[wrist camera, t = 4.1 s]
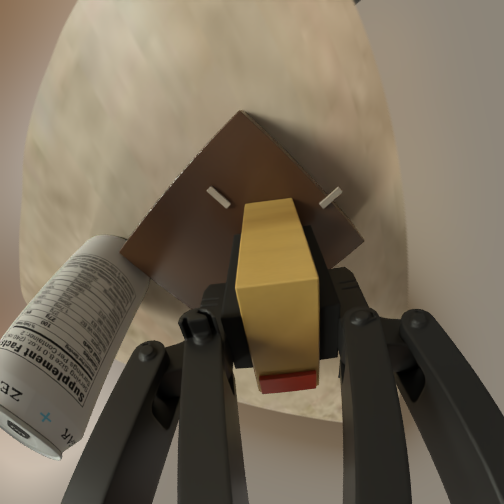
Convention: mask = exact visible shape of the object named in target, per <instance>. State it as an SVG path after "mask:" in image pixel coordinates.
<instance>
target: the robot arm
mask: <svg viewBox="0 0 504 504" xmlns="http://www.w3.org/2000/svg"><path fill="white" fill-rule="evenodd" d="M302 228H303V230H304V233H305V236H306V239H307V242H308V245H309V248H310V251H311V255H312V258H313V261H314V264H315V267H316V270H317V273H318V276H319V297H320V360H322V359H329V358H335V357H338V351H339V354H340V367H339V376H338V378H340V380H341V396H342V417H343V456H344V457H343V459H344V460H343V463H344V464H343V468H344V472H343V474H344V475H343V476H344V477H343V504H412V496H411V483H410V472H409V463H408V454H407V447H406V439H405V433H404V426H403V420H402V414H401V408H400V403H399V397H398V392H397V387H398V389H399V391H400V393H401V395H402V396H403V398H404V400H405V402H406V404H407V406H408V408H409V410H410V413H411V415H412V417H413V419H414V421H415V423H416V425H417V427H418V429H419V431H420V433H421V435H422V438H423V440H424V442H425V444H426V446H427V448H428V451H429V452H430V455H431V457H432V460H433V462H434V464H435V466H436V469H437V471H438V473H439V476H440V478H441V481H442V483H443V485H444V488H445V490H446V493H447V495H448V498H449V500H450V503H451V504H504V416H503V415H502V413H501V411H500V410H499V408H498V406H497V405H496V403H495V402H494V400H493V398H492V397H491V395H490V394H489V392H488V391H487V389H486V388H485V386H484V385H483V383H482V382H481V380H480V379H479V377H478V376H477V374H476V373H475V371H474V370H473V369H472V367H471V366H470V364H469V363H468V362H467V360H466V359H465V357H464V356H463V355H462V353H461V352H460V351H459V349H458V348H457V347H456V345H455V344H454V343H453V341H452V340H451V339H450V337H449V336H448V335H447V333H446V332H445V331H444V330H443V328H442V327H441V326H440V325H439V323H438V322H437V321H436V320H435V318H434V317H433V316H432V315H431V314H430V313H429V312H426V311H424V310H421V309H412V310H408V311H406V312H405V313H404V314H403V315H402V317H401V319H388V318H382V317H379V315H378V313H377V312H376V311H375V310H373V309H372V308H369V306H368V304H367V302H366V300H365V298H364V296H363V293H362V291H361V289H360V287H359V285H358V283H357V281H356V279H355V277H354V275H353V273H352V272H351V271H350V270H348V269H347V268H346V267H343V268H335V269H328V268H327V266H326V263H325V260H324V258H323V255H322V253H321V250H320V248H319V245H318V242H317V240H316V237H315V235H314V232H313V230H312V227H311V225H307V226H302ZM240 241H241V234H236V235H234V238H233V244H232V250H231V255H230V262H229V268H228V274H227V280H226V283H219V284H210V285H209V286H208V287H207V288H206V290H205V291H204V292H203V296H202V301H201V304H200V308H195V309H192V310H189V311H188V312H186V313H184V314H183V315H182V316H181V317H180V319H179V321H178V324H179V326H180V329H181V331H182V334H183V336H184V339H185V341H183V342H181V343H179V344H176V345H172V346H169V347H164V345H163V344H162V343H161V342H159V341H155V340H154V341H147V342H144V343H142V344H140V345H139V346H138V347H136V349H135V350H134V351H133V353H132V355H131V357H130V359H129V360H128V362H127V364H126V366H125V368H124V370H123V372H122V374H121V376H120V377H119V379H118V381H117V383H116V385H115V387H114V389H113V391H112V393H111V395H110V397H109V399H108V401H107V403H106V405H105V407H104V409H103V411H102V413H101V415H100V417H99V419H98V421H97V423H96V425H95V427H94V430H93V432H92V434H91V436H90V438H89V440H88V442H87V444H86V447H85V449H84V451H83V453H82V455H81V457H80V460H79V462H78V464H77V466H76V469H75V471H74V473H73V476H72V478H71V480H70V482H69V485H68V487H67V490H66V492H65V494H64V497H63V499H62V502H61V504H152V502H153V498H154V495H155V492H156V489H157V485H158V483H159V479H160V476H161V473H162V470H163V467H164V463H165V461H166V457H167V454H168V451H169V448H170V445H171V442H172V438H173V436H174V433H175V430H176V427H177V423H178V420H179V438H178V486H177V490H178V491H177V492H178V504H249V501H248V493H247V486H246V477H245V470H244V462H243V461H244V460H243V452H242V443H241V434H240V424H239V416H238V405H237V395H236V384H235V377H234V374H233V362H234V365H235V368H236V369H238V368H252V367H253V364H252V360H251V355H250V351H249V347H248V343H247V339H246V334H245V330H244V326H243V321H242V317H241V313H240V308H239V304H238V299H237V295H236V290H235V284H236V275H237V266H238V258H239V249H240ZM396 385H397V387H396Z"/></svg>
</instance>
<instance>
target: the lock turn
mask: <svg viewBox="0 0 504 504" xmlns="http://www.w3.org/2000/svg"><path fill="white" fill-rule="evenodd" d="M235 290H236V295H237V299H238V304H239V308H240V313H241V317H242V321H243V326H244V330H245V334H246V339H247V343H248V347H249V351H250V355H251V360H252V364H253V368H254V372H255V376H256V380H257V384H258V388H259V391H260V392H262V394H269V393H280V392H290V391H299V390H307V389H314V388H316V386H318V385H319V363H320V297H319V276H318V273H317V270H316V267H315V264H314V261H313V258H312V255H311V251H310V248H309V245H308V242H307V239H306V236H305V233H304V230H303V228H302V225H301V222H300V219H299V216H298V213H297V210H296V207H295V205H294V202H293V199H292V198H287V199H279V200H271V201H263V202H255V203H248V204H245V208H244V216H243V224H242V232H241V241H240V249H239V258H238V266H237V275H236V284H235Z"/></svg>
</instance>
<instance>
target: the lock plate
mask: <svg viewBox="0 0 504 504" xmlns="http://www.w3.org/2000/svg"><path fill="white" fill-rule="evenodd" d="M342 192H343V191H342V190H341V189H340V188H339V187H337V188H336V189H335V190H334V191H333V192H331V193H330V194H329V195H327V194H326V193H325V191H324V190H323V189H322V188H321V187H320V186H319V185H318V184H317V183H316V182H315V181H314V180H313V178H312V177H311V176H310V175H309V174H308V173H307V172H306V171H305V170H304V169H303V168H302V167H301V166H300V165H299V164H298V163H297V162H296V161H295V160H294V159H293V158H292V157H291V156H290V155H289V154H288V153H287V152H286V151H285V150H284V149H283V148H282V147H281V146H280V145H279V144H278V143H277V142H276V141H275V140H274V139H273V138H272V137H271V136H270V135H269V134H268V133H267V132H266V131H265V130H264V129H263V128H262V127H261V126H260V125H259V124H258V123H256V122H255V121H254V120H253V119H252V118H251V117H250V116H249V115H248V114H247V113H246V112H245V111H243V110H240V111H238V112H237V113H236V114H235V115H234V116H233V117H232V118H231V119H230V120H229V121H228V122H227V123H226V124H225V125H224V126H223V127H222V128H221V129H220V131H219V132H218V133H217V134H216V135H215V136H214V137H213V138H212V139H211V140H210V141H209V142H208V143H207V144H206V145H205V146H204V148H203V149H202V150H201V151H200V152H199V153H198V154H197V155H196V156H195V157H194V159H193V160H192V161H191V162H190V163H189V164H188V165H187V166H186V168H185V169H184V170H183V171H182V172H181V173H180V175H179V176H178V177H177V178H176V179H175V180H174V182H173V183H172V184H171V185H170V186H169V188H168V189H167V190H166V191H165V192H164V194H163V195H162V196H161V197H160V198H159V200H158V201H157V202H156V203H155V205H154V206H153V207H152V208H151V210H150V211H149V212H148V213H147V215H146V216H145V217H144V219H143V220H142V221H141V222H140V224H139V225H138V226H137V228H136V229H135V230H134V232H133V233H132V234H131V236H130V237H129V238H128V240H127V241H126V242H125V244H124V245H123V247H122V248H121V249H120V251H119V253H120V254H121V255H122V256H124V257H125V258H126V259H127V260H128V261H130V262H131V263H132V264H133V265H135V266H136V267H137V268H138V269H140V270H141V271H142V272H143V273H145V274H146V275H147V276H148V277H150V278H151V279H152V280H153V281H155V282H156V283H157V284H159V285H160V286H161V287H163V288H164V289H165V290H166V291H168V292H169V293H170V294H172V295H173V296H174V297H176V298H177V299H178V300H180V301H181V302H182V303H184V304H185V305H187V306H188V307H189V308H191V309H195V308H200V304H201V301H202V296H203V292H204V291H205V290H206V288H207V287H208V286H209V285H210V284H219V283H226V280H227V274H228V268H229V262H230V255H231V250H232V244H233V238H234V235H236V234H241V232H242V224H243V216H244V208H245V204H248V203H255V202H263V201H271V200H279V199H287V198H292V199H293V202H294V205H295V207H296V210H297V213H298V216H299V219H300V222H301V225H302V226H307V225H311V227H312V230H313V232H314V235H315V237H316V240H317V242H318V245H319V248H320V250H321V253H322V255H323V258H324V260H325V263H326V266H327V268H328V269H331V268H332V267H334V266H335V265H336V264H337V263H339V262H340V261H341V260H342V259H344V258H345V257H346V256H347V255H348V254H350V253H351V252H352V251H353V250H354V249H356V248H357V247H358V246H359V245H360V244H362V243H363V242H364V239H363V238H362V236H361V235H360V233H359V232H358V231H357V229H356V228H355V226H354V225H353V224H352V222H351V221H350V220H349V218H348V217H347V216H346V215H345V214H344V213H343V212H342V210H341V209H340V208H339V207H338V206H337V205H336V204H335V202H334V201H333V200H334V199H336V198H337V197H338V196H339V195H340V194H341V193H342Z"/></svg>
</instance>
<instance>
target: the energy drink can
mask: <svg viewBox="0 0 504 504" xmlns="http://www.w3.org/2000/svg"><path fill="white" fill-rule="evenodd" d="M126 241H127V240H125V239H123V238H120V237H117V236H111V235H97V236H94V237H92V238H90V239H89V240H88V241H86V242H85V243H84V244H83V245H82V246H81V247H80V248H79V249H78V250H77V251H76V252H75V253H74V254H73V255H72V256H71V257H70V258H69V259H68V260H67V261H66V262H65V264H64V265H63V266H62V267H61V268H60V269H59V270H58V271H57V272H56V273H55V274H54V275H53V276H52V278H51V279H50V280H49V281H48V282H47V283H46V284H45V285H44V286H43V288H42V289H41V290H40V291H39V292H38V293H37V294H36V296H35V297H34V298H33V299H32V300H31V302H30V303H29V304H28V305H27V306H26V308H25V309H24V310H23V311H22V312H21V314H20V315H19V316H18V317H17V319H16V320H15V321H14V323H13V324H12V325H11V326H10V328H9V329H8V330H7V332H6V333H5V334H4V336H3V337H2V338H1V340H0V428H2V429H3V430H4V431H5V432H7V433H8V434H9V435H10V436H12V437H13V438H15V439H16V440H17V441H19V442H20V443H22V444H23V445H25V446H27V447H28V448H30V449H32V450H33V451H35V452H37V453H39V454H41V455H43V456H45V457H48V458H50V459H53V460H58V461H59V460H61V459H62V453H63V452H64V451H65V450H66V449H68V448H69V447H71V446H72V445H74V444H75V443H77V442H78V441H80V440H81V439H82V437H83V435H84V432H85V429H86V427H87V424H88V422H89V419H90V416H91V414H92V411H93V409H94V406H95V404H96V401H97V399H98V396H99V394H100V391H101V389H102V386H103V384H104V381H105V379H106V377H107V374H108V372H109V370H110V367H111V365H112V363H113V361H114V359H115V356H116V354H117V352H118V350H119V348H120V345H121V343H122V341H123V339H124V337H125V335H126V332H127V330H128V328H129V326H130V324H131V322H132V320H133V318H134V316H135V314H136V312H137V310H138V308H139V306H140V304H141V302H142V300H143V298H144V296H145V294H146V292H147V289H148V286H149V277H148V276H147V275H146V274H145V273H143V272H142V271H141V270H140V269H138V268H137V267H136V266H135V265H133V264H132V263H131V262H130V261H128V260H127V259H126V258H125V257H124V256H122V255H121V254H120V253H119V251H120V249H121V248H122V247H123V245H124V244H125V242H126Z"/></svg>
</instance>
